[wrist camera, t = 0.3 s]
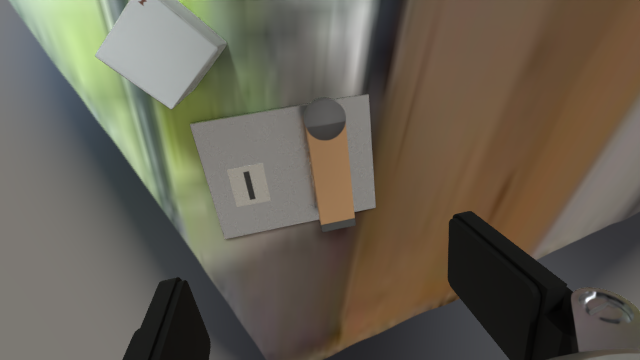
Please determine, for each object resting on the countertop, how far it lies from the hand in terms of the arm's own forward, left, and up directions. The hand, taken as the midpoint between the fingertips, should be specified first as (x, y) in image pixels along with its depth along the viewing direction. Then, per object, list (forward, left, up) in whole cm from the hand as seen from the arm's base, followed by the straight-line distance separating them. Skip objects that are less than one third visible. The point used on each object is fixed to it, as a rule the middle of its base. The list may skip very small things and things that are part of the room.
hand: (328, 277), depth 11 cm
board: (+10, +1, -35) cm, 37 cm away
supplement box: (-8, -9, -35) cm, 37 cm away
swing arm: (+9, +6, -32) cm, 34 cm away
